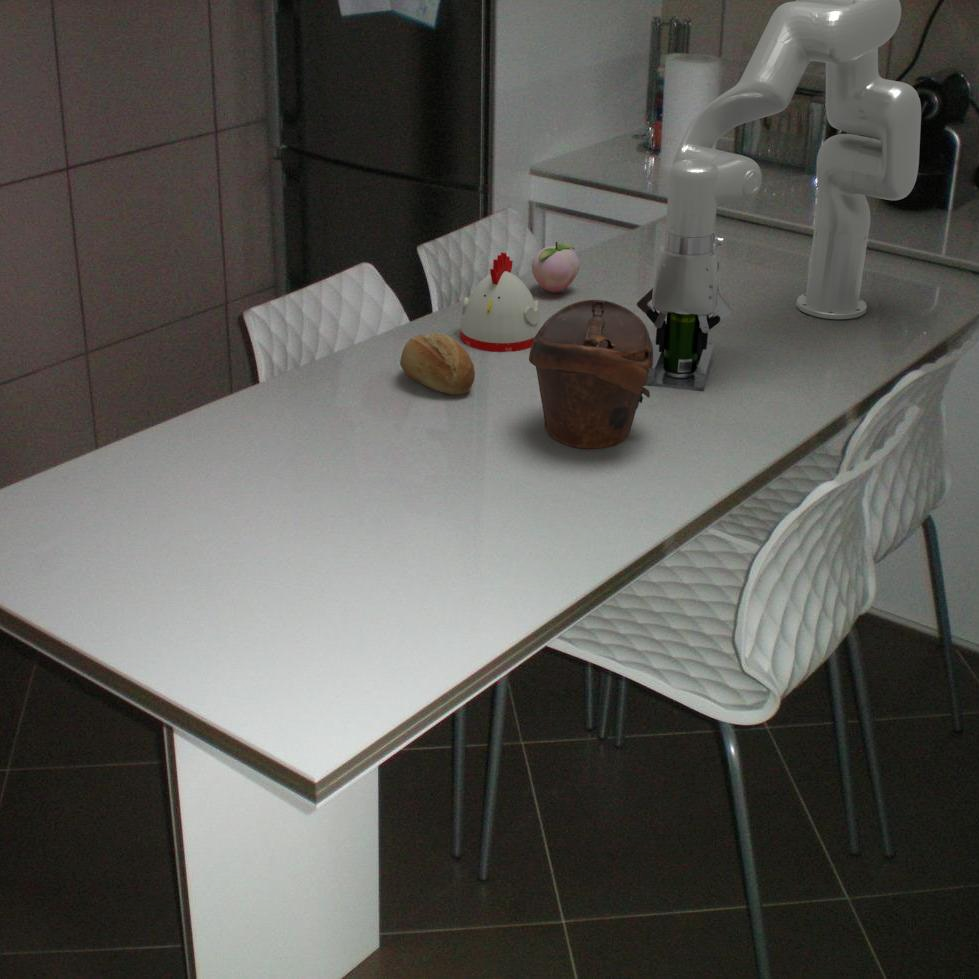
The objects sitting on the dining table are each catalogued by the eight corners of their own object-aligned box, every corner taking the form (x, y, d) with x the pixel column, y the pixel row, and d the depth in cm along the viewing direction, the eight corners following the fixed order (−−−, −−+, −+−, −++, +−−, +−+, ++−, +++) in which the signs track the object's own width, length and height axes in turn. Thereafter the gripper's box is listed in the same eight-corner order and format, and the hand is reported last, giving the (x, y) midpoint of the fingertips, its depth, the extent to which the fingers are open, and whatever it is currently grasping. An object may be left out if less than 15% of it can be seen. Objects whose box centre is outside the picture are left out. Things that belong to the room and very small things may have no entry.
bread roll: (440, 407, 212) (440, 359, 209) (384, 377, 223) (383, 330, 219) (489, 392, 218) (489, 345, 214) (432, 363, 228) (432, 317, 224)
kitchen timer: (447, 344, 235) (447, 260, 228) (478, 319, 247) (479, 237, 240) (523, 357, 231) (526, 271, 224) (551, 330, 242) (554, 247, 235)
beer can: (701, 376, 223) (708, 305, 217) (672, 380, 221) (677, 309, 215) (686, 363, 227) (691, 294, 221) (656, 368, 225) (661, 298, 220)
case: (570, 470, 193) (577, 350, 185) (503, 418, 209) (507, 305, 201) (676, 448, 201) (687, 332, 193) (603, 399, 216) (611, 290, 208)
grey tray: (656, 355, 232) (657, 338, 231) (712, 361, 230) (714, 344, 229) (644, 384, 221) (645, 367, 219) (703, 391, 219) (705, 373, 217)
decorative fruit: (548, 282, 265) (550, 231, 260) (584, 290, 261) (587, 239, 256) (521, 295, 258) (522, 243, 254) (557, 304, 254) (559, 251, 249)
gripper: (747, 239, 215) (736, 348, 223) (638, 230, 218) (631, 337, 227) (742, 254, 208) (732, 365, 217) (630, 244, 212) (624, 354, 220)
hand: (680, 350), depth 222 cm, fingers closed on beer can, 5 cm apart
